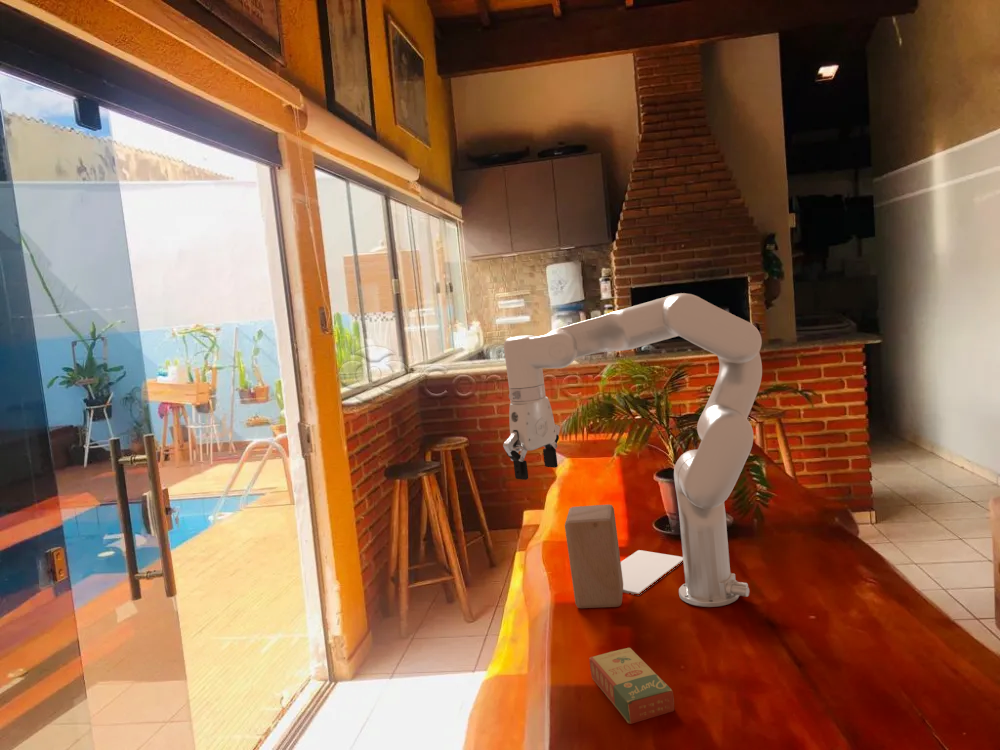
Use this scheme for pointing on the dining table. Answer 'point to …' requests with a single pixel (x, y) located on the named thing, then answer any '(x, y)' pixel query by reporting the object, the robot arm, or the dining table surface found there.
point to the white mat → (645, 569)
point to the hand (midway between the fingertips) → (536, 472)
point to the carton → (631, 685)
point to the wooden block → (594, 556)
